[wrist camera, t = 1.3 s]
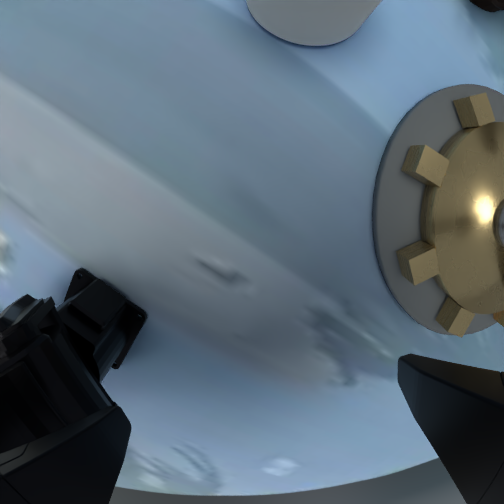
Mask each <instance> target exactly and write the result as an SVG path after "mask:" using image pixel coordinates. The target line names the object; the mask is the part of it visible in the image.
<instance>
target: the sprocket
mask: <svg viewBox="0 0 504 504" xmlns="http://www.w3.org/2000/svg"><path fill="white" fill-rule="evenodd" d="M453 102H454V105H455V107H456V110H457V113H458V116H459V119H460V122H461V125H462V128H464V129H462V130H460V131H458V132H457V133H456V134H455V135H453V136H452V137H451V138H450V139H449V140H448V141H447V143H446V144H445V145H444V146H443V148H442V149H441V151H440V152H439V153H438V152H436V151H435V150H433V149H432V148H430V147H429V146H427V145H412V146H410V148H409V151H408V154H407V156H406V159H405V162H404V164H403V167H402V169H401V171H403V172H404V173H406V174H408V175H410V176H411V177H413V178H415V179H416V180H418V181H420V182H421V183H423V184H425V189H424V193H423V199H422V205H421V217H420V232H421V240H419V241H417V242H415V243H413V244H411V245H409V246H406V247H404V248H402V249H400V250H398V251H396V254H397V258H398V262H399V266H400V270H401V274H402V276H403V277H405V278H406V279H407V280H408V281H409V282H411V283H412V284H413V285H414V286H415V285H417V284H419V283H421V282H423V281H425V280H427V279H429V278H431V277H433V279H434V280H435V282H436V283H437V285H438V286H439V287H440V288H441V290H442V291H443V292H444V293H446V294H447V295H448V296H449V297H447V299H446V301H445V303H444V305H443V306H442V308H441V310H440V312H439V314H438V315H437V317H436V319H435V320H436V321H437V322H438V323H439V324H440V325H441V326H442V327H443V328H444V329H445V330H446V331H447V332H449V333H452V334H454V335H457V336H459V337H463V335H464V333H465V332H466V330H467V328H468V327H469V325H470V323H471V321H472V320H473V318H474V316H475V313H477V314H493V319H494V320H496V321H497V322H498V323H499V324H501V325H502V326H503V327H504V122H494V121H495V118H494V115H493V111H492V108H491V105H490V103H489V100H488V97H487V94H486V93H481V94H477V95H472V96H468V97H464V98H461V99H457V100H453ZM450 297H451V298H450Z"/></svg>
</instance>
